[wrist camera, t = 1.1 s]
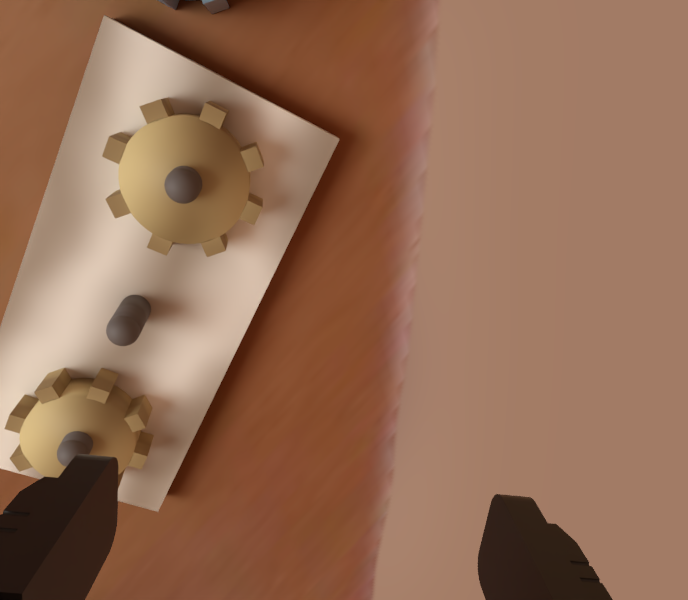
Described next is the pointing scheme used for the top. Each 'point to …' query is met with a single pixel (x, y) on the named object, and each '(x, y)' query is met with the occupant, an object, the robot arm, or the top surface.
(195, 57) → the top surface
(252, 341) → the top surface
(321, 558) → the top surface
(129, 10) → the top surface
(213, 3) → the loose gear
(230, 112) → the gear board
